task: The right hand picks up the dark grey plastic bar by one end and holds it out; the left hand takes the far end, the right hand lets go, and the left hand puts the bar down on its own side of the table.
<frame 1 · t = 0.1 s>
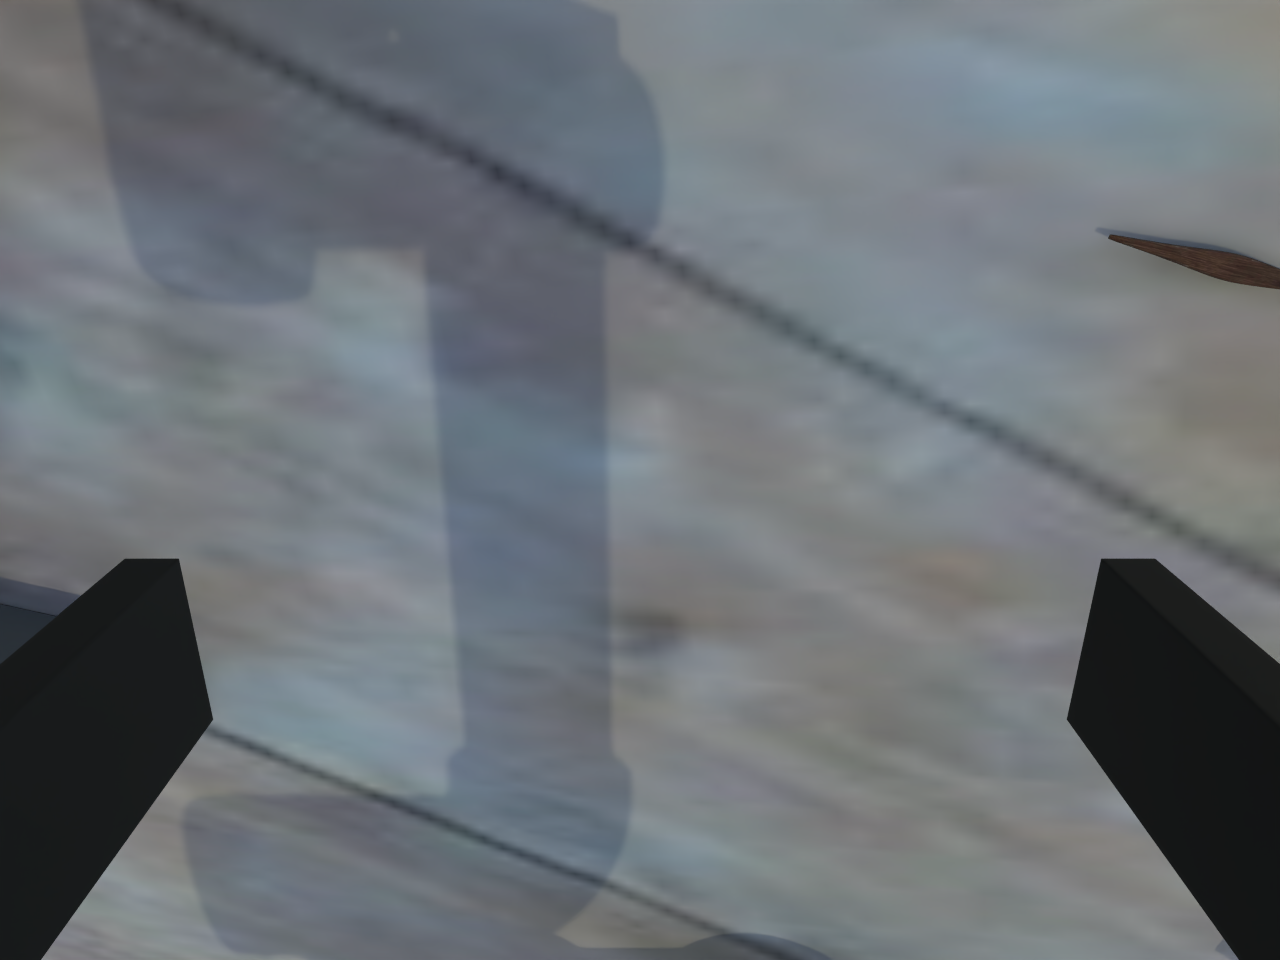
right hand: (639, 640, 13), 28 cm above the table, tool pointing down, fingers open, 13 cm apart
fork: (1271, 278, 39), on the table
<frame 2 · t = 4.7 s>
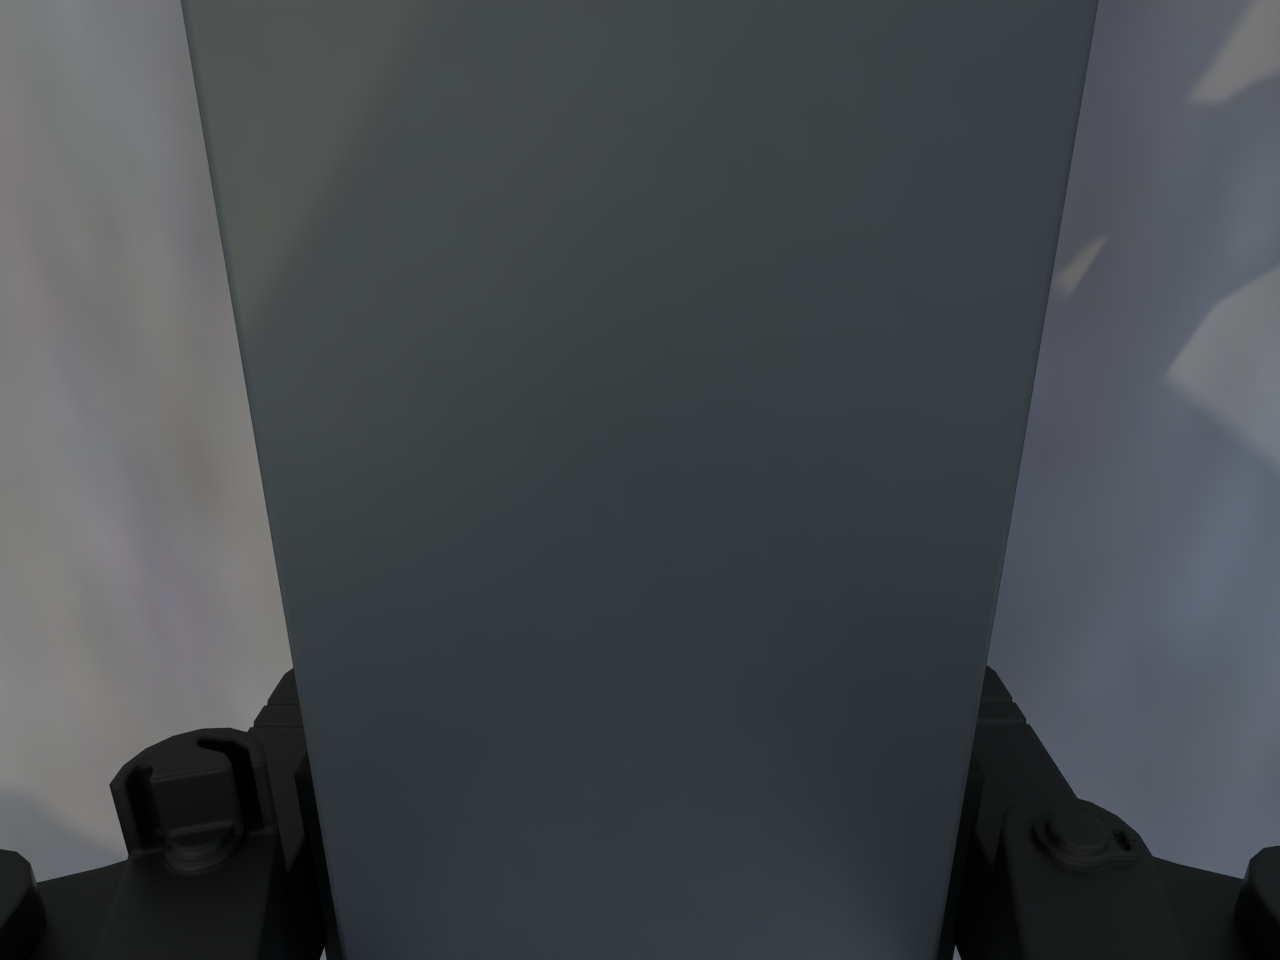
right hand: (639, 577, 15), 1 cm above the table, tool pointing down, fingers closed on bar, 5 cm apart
bar: (639, 112, 13), on the table, touching right hand
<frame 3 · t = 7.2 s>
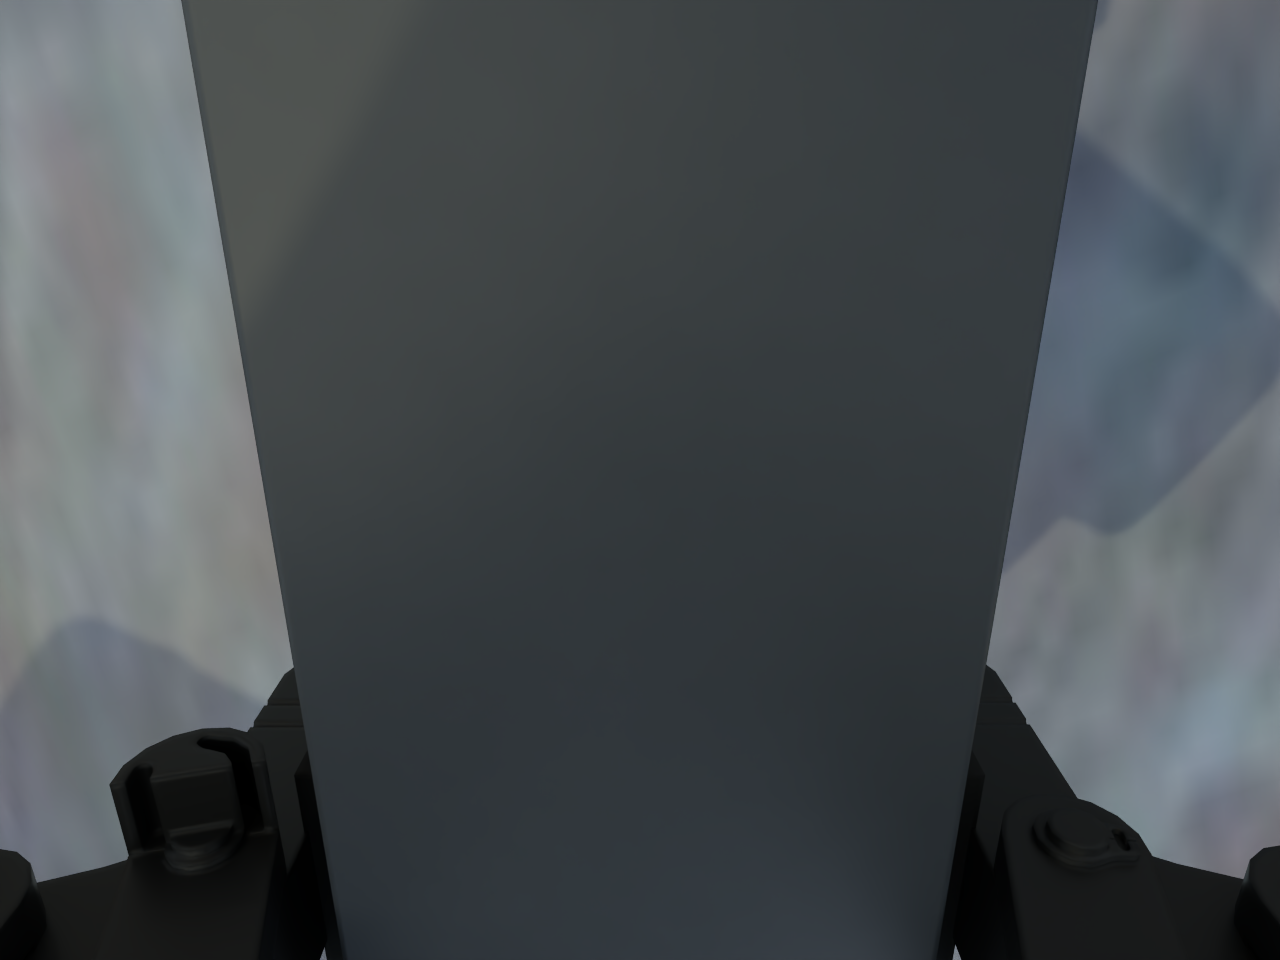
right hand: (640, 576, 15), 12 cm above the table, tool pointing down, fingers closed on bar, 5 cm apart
bar: (639, 111, 13), point 12 cm above the table, touching right hand
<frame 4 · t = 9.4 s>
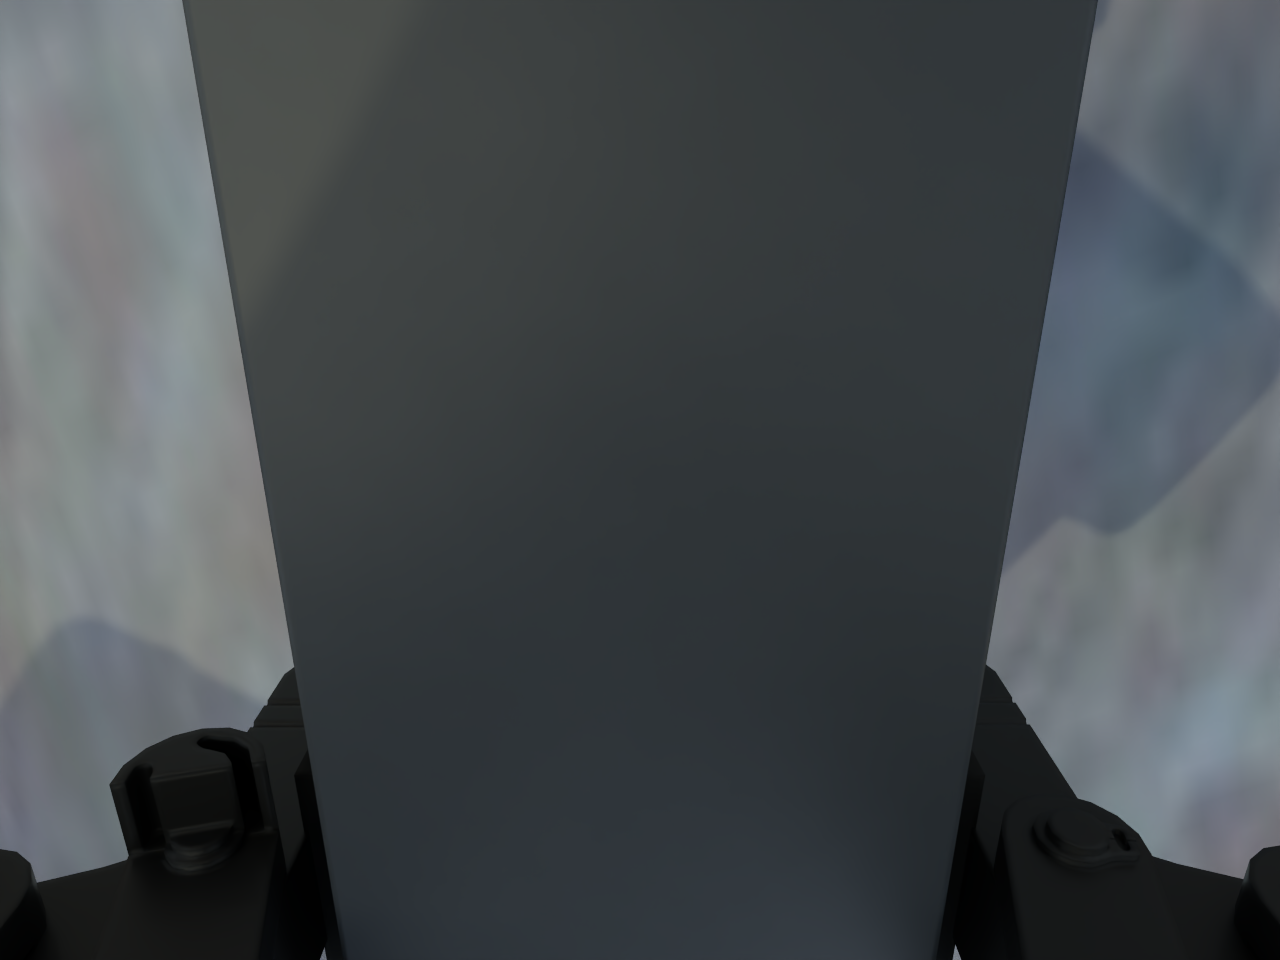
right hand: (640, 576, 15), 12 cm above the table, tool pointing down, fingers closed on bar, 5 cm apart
bar: (639, 111, 13), point 12 cm above the table, touching right hand, left hand
when the right hand's fingers open (12 cm above the table, at t = 9.9 s): bar stays where it is, held by the left hand.
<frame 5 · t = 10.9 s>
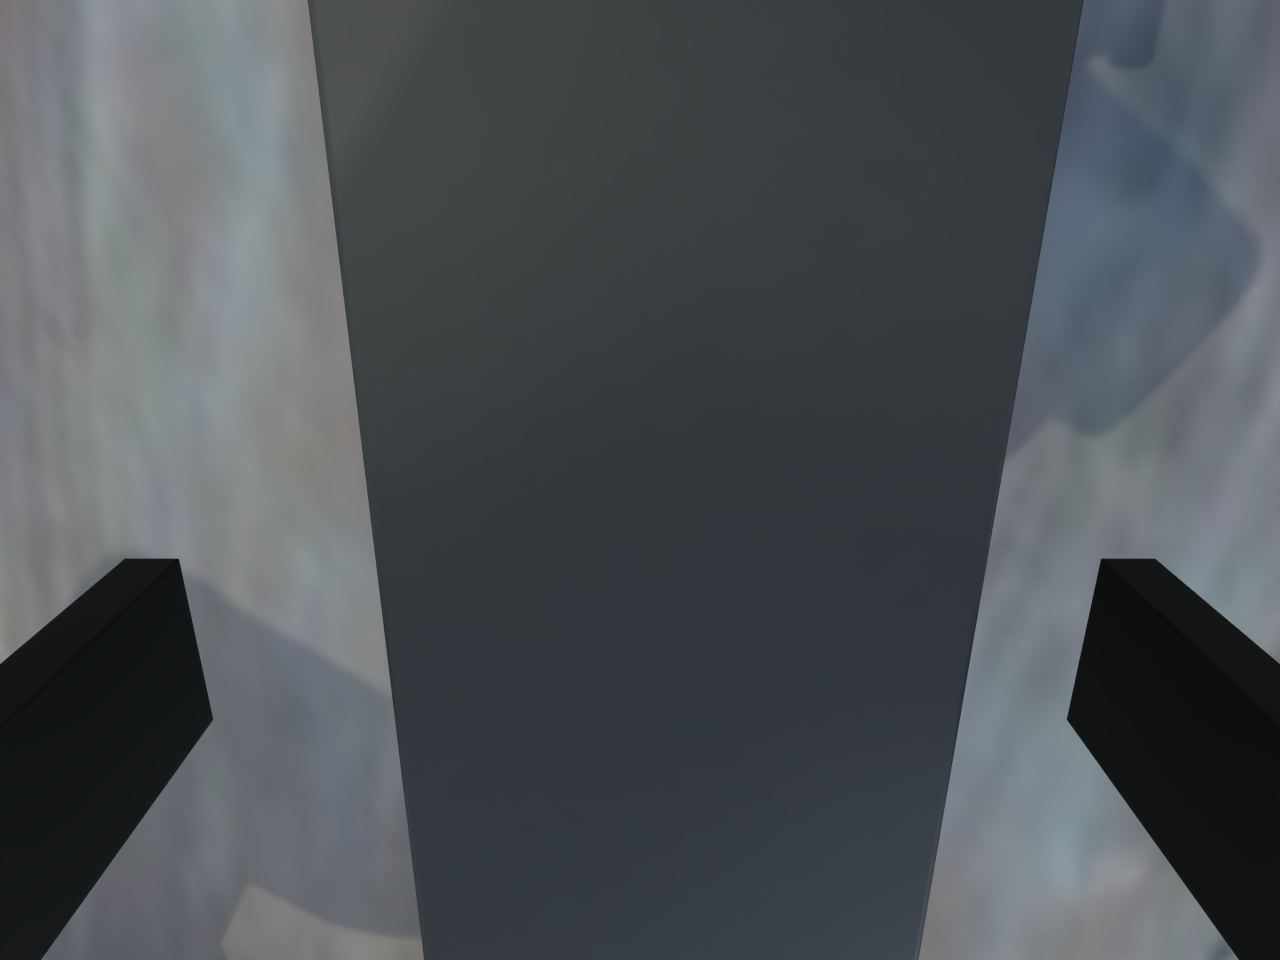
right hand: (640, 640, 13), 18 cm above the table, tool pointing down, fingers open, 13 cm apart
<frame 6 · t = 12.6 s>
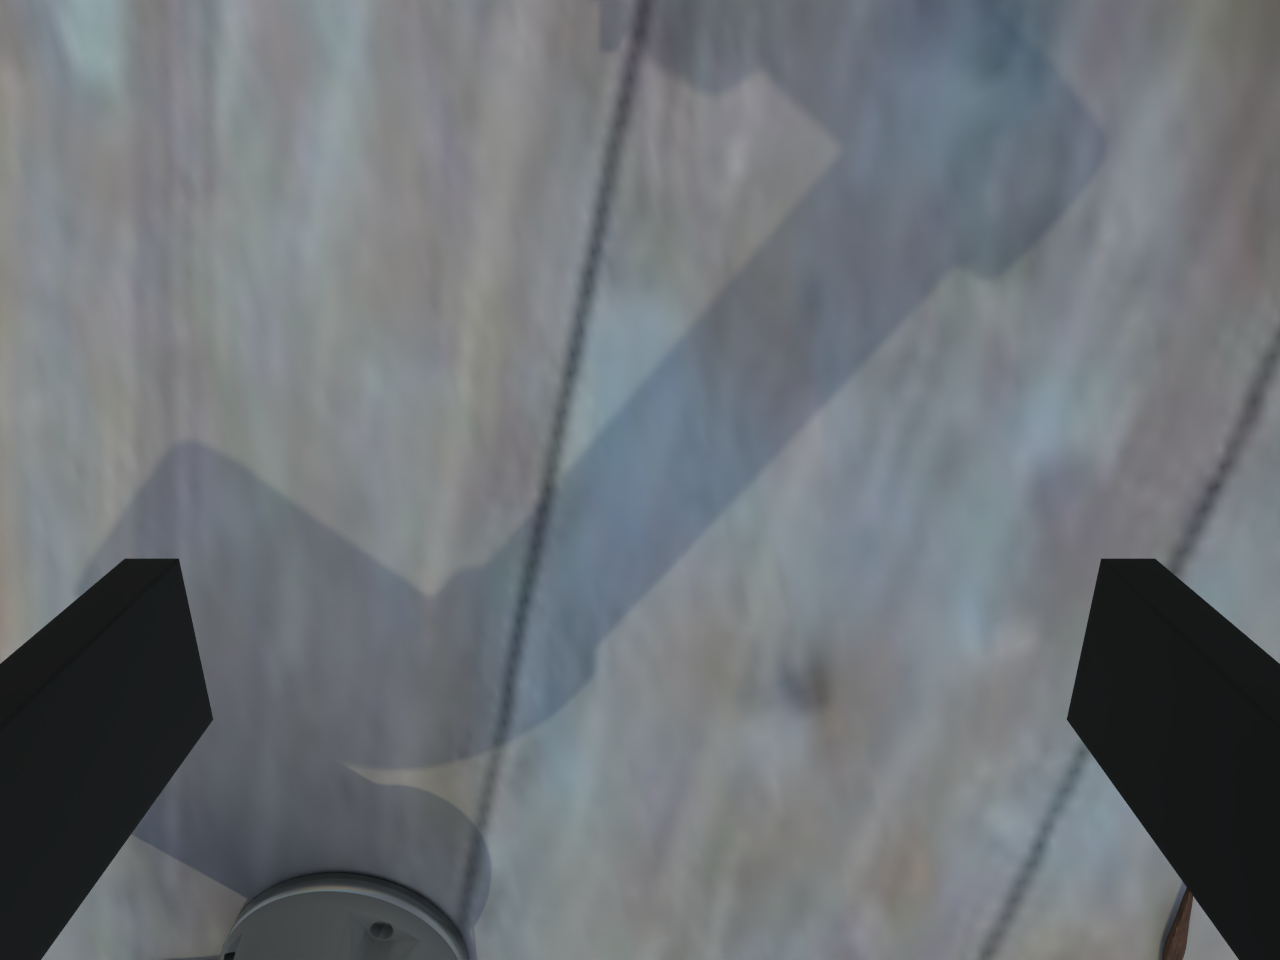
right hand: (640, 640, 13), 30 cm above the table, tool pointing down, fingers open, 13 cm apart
when the left hand's fingers open (2 cm above the table, at t = 16.3 s): bar drops 1 cm, on the table.
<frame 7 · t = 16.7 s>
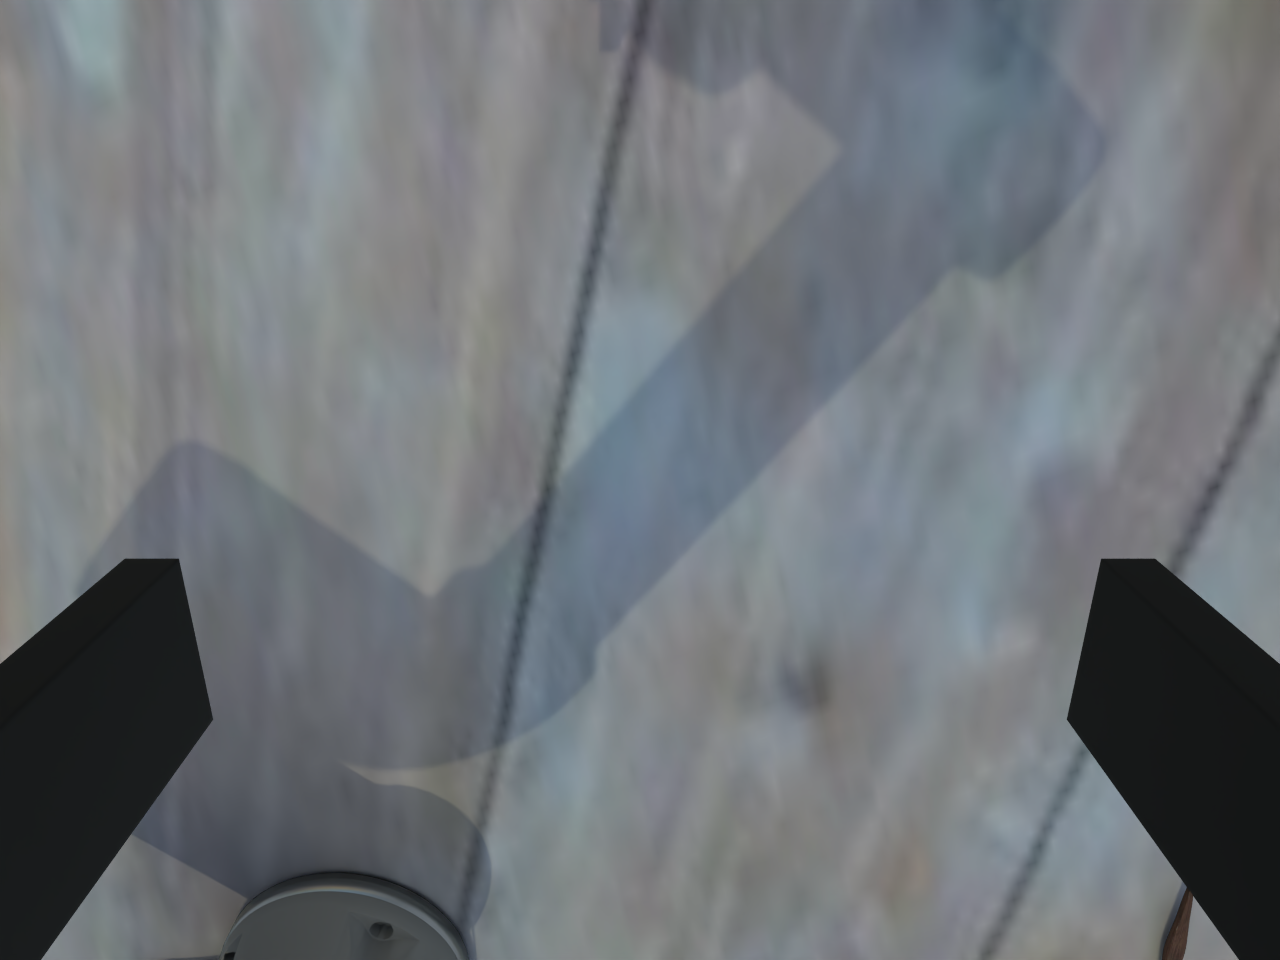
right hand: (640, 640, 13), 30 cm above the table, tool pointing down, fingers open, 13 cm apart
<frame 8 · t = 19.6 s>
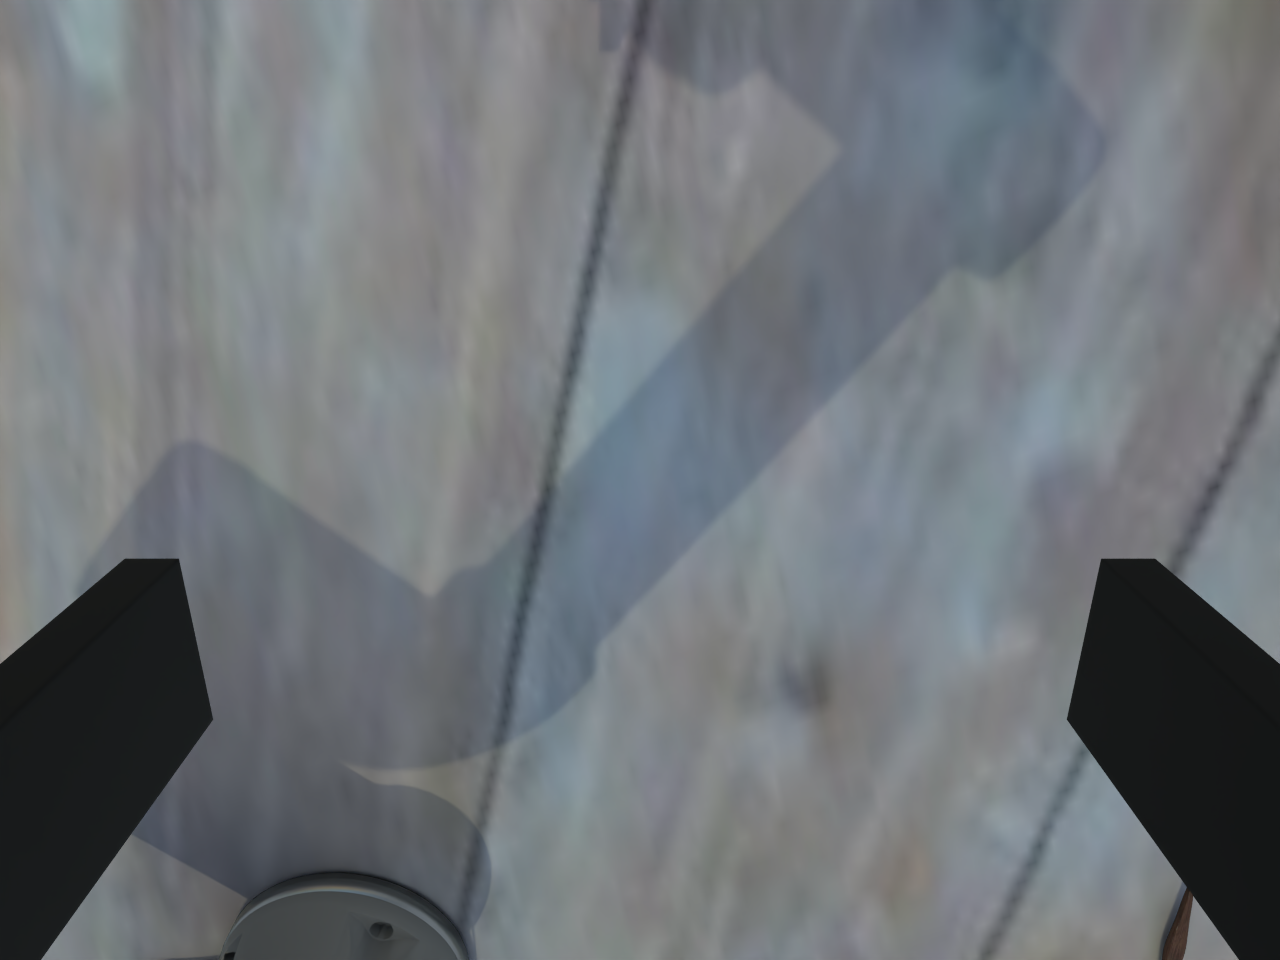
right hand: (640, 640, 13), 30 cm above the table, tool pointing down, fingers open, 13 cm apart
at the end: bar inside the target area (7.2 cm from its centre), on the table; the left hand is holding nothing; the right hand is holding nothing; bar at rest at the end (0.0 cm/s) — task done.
